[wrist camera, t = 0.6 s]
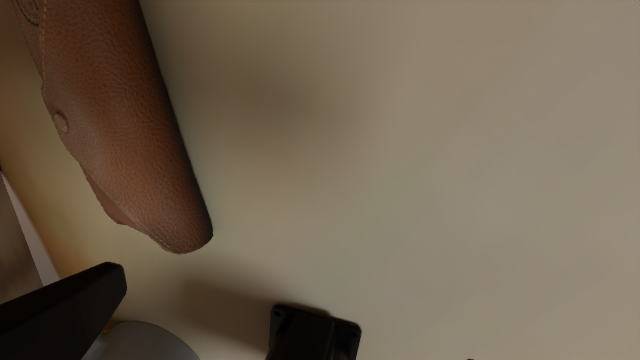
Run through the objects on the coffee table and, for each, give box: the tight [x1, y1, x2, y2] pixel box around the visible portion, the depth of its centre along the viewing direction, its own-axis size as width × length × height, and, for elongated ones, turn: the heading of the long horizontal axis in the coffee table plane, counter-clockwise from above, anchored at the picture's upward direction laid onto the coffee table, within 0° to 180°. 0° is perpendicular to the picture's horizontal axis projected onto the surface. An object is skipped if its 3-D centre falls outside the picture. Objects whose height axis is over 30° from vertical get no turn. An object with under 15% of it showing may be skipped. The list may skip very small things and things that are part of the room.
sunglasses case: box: [11, 0, 213, 254], centre depth 21 cm, size 18×7×7 cm, turn 8°
